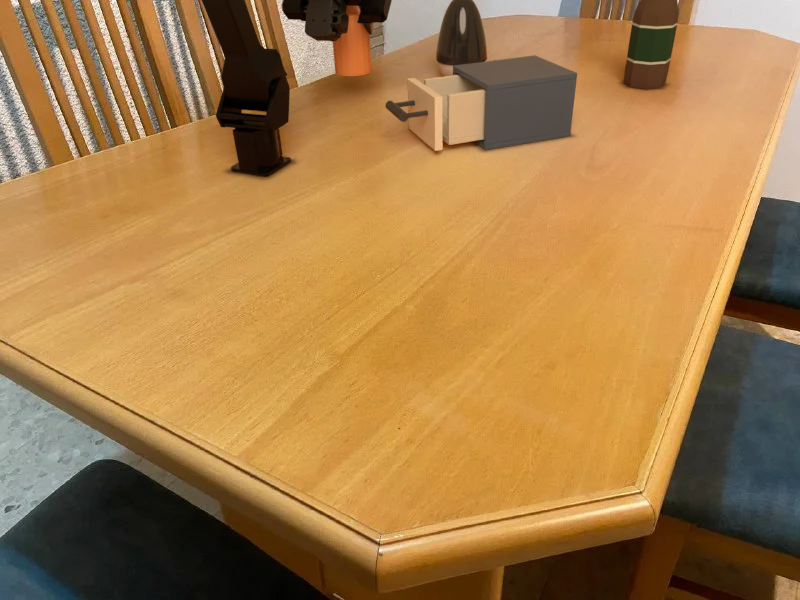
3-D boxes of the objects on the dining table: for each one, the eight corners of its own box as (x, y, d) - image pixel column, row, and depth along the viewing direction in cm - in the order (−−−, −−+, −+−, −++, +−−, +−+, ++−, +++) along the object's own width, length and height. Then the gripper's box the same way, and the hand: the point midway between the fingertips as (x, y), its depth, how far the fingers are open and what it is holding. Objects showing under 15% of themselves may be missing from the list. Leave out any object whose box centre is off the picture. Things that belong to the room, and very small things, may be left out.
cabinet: (485, 150, 96) (488, 85, 90) (452, 125, 106) (452, 65, 100) (570, 136, 99) (577, 72, 94) (530, 113, 109) (535, 55, 104)
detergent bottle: (353, 77, 113) (348, 0, 106) (327, 72, 117) (321, -3, 110) (378, 70, 117) (375, -5, 110) (352, 65, 121) (347, -8, 114)
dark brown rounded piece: (485, 70, 134) (488, -9, 126) (486, 83, 126) (489, -1, 117) (437, 71, 135) (437, -8, 127) (434, 84, 127) (434, 1, 118)
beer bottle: (623, 89, 119) (646, -58, 106) (621, 78, 126) (643, -62, 112) (667, 90, 118) (696, -59, 104) (663, 79, 124) (690, -63, 111)
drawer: (406, 155, 92) (404, 101, 88) (382, 132, 102) (379, 82, 97) (517, 137, 97) (520, 85, 93) (484, 116, 106) (486, 68, 102)
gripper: (254, 14, 101) (296, 69, 116) (362, 17, 95) (391, 75, 110) (272, -47, 103) (311, 14, 118) (379, -48, 97) (406, 17, 112)
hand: (353, 31), depth 114 cm, fingers closed on detergent bottle, 6 cm apart
